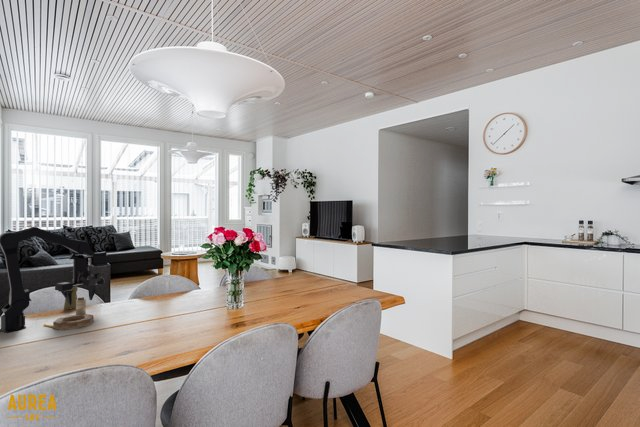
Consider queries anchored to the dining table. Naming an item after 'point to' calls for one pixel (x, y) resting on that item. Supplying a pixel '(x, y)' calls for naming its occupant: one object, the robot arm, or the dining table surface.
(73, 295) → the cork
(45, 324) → the thin yellow rod
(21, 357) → the dining table surface
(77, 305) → the beige wooden peg
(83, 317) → the brown octagonal ring
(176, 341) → the dining table surface
